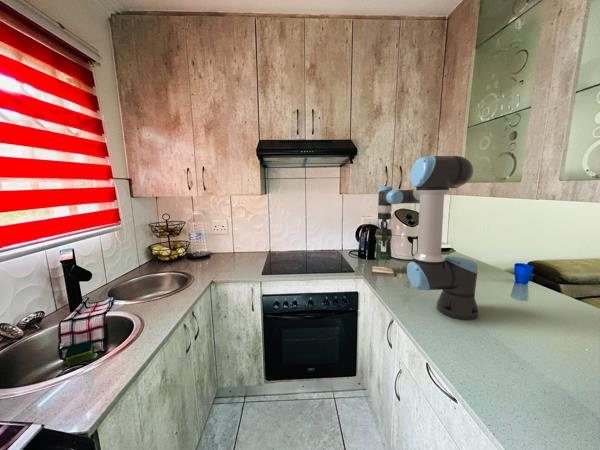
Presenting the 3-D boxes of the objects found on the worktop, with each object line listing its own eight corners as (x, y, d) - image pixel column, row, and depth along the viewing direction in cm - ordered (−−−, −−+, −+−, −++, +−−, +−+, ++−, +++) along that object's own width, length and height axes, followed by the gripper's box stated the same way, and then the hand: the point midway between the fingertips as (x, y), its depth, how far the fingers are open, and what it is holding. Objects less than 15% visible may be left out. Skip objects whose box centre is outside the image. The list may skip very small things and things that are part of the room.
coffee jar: (391, 257, 155) (392, 228, 152) (391, 261, 148) (392, 230, 145) (375, 256, 159) (376, 227, 156) (374, 259, 151) (375, 229, 148)
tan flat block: (394, 276, 148) (394, 273, 147) (371, 274, 151) (371, 271, 151) (392, 270, 158) (392, 267, 158) (371, 268, 162) (371, 266, 161)
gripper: (377, 210, 160) (376, 245, 163) (378, 214, 140) (376, 253, 144) (390, 210, 157) (388, 245, 161) (392, 214, 138) (390, 254, 141)
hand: (383, 249), depth 152 cm, fingers closed on coffee jar, 8 cm apart
